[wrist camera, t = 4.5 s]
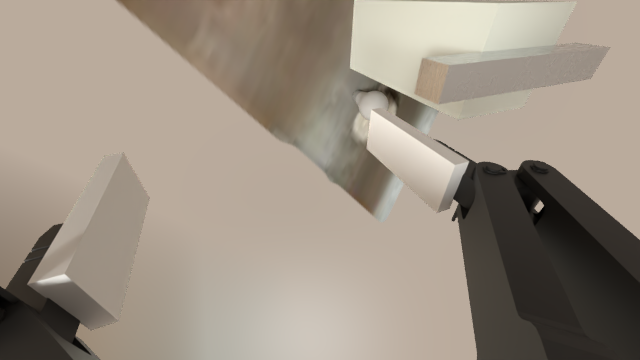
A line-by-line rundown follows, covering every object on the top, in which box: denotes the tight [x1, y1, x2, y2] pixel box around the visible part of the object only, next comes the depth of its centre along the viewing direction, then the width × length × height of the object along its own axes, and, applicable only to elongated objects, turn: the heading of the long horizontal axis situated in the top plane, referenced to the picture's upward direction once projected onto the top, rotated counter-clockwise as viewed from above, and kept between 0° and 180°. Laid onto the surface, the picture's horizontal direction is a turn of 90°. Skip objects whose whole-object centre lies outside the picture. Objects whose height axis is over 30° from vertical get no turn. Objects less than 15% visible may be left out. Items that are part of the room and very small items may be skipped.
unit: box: [350, 0, 577, 120], centre depth 40 cm, size 12×12×30 cm
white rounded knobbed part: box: [353, 90, 389, 121], centre depth 53 cm, size 6×6×11 cm
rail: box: [414, 43, 610, 105], centre depth 27 cm, size 4×24×4 cm, turn 90°
